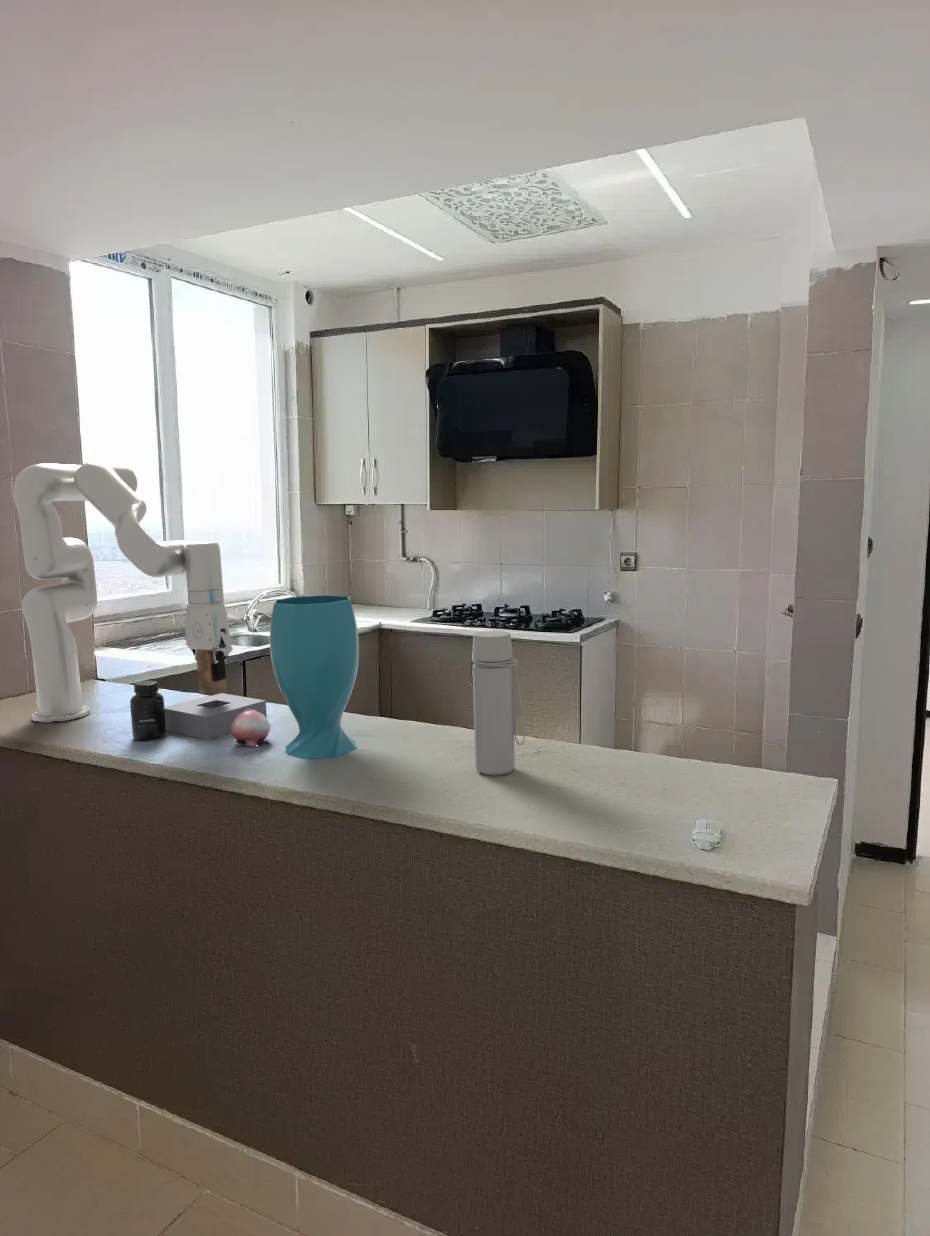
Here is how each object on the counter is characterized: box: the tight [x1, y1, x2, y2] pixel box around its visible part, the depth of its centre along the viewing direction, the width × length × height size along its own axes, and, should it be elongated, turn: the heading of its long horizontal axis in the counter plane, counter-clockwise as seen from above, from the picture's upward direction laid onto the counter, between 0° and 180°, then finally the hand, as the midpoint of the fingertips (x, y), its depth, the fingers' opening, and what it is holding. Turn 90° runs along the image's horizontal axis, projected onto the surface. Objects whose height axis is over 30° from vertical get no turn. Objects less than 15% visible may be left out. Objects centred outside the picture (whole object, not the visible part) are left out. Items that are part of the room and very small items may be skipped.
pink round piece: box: [230, 709, 271, 748], centre depth 166 cm, size 8×8×7 cm
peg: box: [196, 647, 228, 696], centre depth 179 cm, size 4×4×10 cm
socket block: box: [165, 693, 268, 741], centre depth 181 cm, size 16×16×5 cm
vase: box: [269, 594, 360, 760], centre depth 160 cm, size 17×17×30 cm
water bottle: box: [471, 630, 526, 777], centre depth 143 cm, size 9×8×25 cm
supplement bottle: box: [129, 680, 167, 742], centre depth 173 cm, size 7×7×12 cm
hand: (212, 678), depth 179 cm, fingers closed on peg, 4 cm apart
